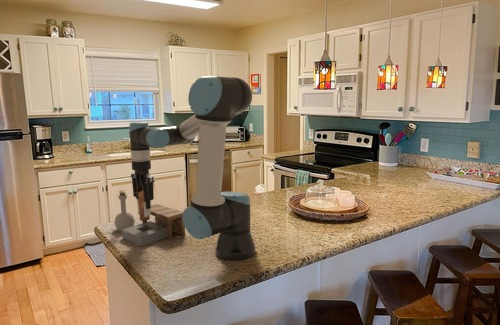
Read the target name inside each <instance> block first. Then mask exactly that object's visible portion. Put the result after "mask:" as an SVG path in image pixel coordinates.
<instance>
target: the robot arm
mask: <svg viewBox="0 0 500 325" xmlns="http://www.w3.org/2000/svg"><path fill="white" fill-rule="evenodd" d="M187 101H188V105H189V106H190V107H189V108H190V110H191V111H192V112H193V113H194V114H193V115H191V116H190V117H189V118H187V119H186V120H184V121H182V122H181V123H180V124H178V125H175V126H164V127H150V126H149V123H148V122H146V121H138V122H137V121H136V122H130V123H129V125H128V126H129V134H128V135H129V144H130V158H131V170H133V171H134V173H131V174H130V178H131V183H132V184H131V185H132V194H133V198H134V197H135V199H136V203H137V215H139V200H138V192H139V191H143V194H144V201H143V203H144V217H147V216H150V217H151V216H152V215H151V205H152V204H151V201H153V200H155V196H154V180H155V178H154V176H151V175H150V171H149V170H151V169H152V164H151V163H152V161H151V160H150V159H151V150H150V149H151V148H153V149H163V148H165V147H169V146H176V145H188V144H192V143H193V142H194V141H195V138H196V137H197V136H198V145H197V146H198V148H197V162H196V163H197V164H196V166H197V167H196V183H195V185H196V186H195V193H194V194H193V195H192V196H191V197H190V204H189V205H190V206H187V207H186V208H185V209H184V210H183V211H182V212H183V223H184V226H185V230H186V231H187V233H188V234H189V235H190V236H191V237H192V238H194V239H196V240H203V239H209V238H210V237H212V236H216V235H218V238H217V242H216V245H215V246H214V247H215V249H214V250H215V254H216V256H217V257H218V258H220V259H223V260H228V261H239V260H240V261H241V260H246V259H249V258H251V257H252V256H254V255H255V254H256V245H255V242H254V239H253V236H252V233H251V232H252V231H251V202H250V201H251V200H250V196H249V195H248V194H247V193H244V192H239V191H222V186H223V174H224V164H225V163H224V162H225V161H224V160H225V148H226V137H227V136H226V135H227V134H226V133H227V126H228V125H230V124H231V122H232V118H235V117H236V116H238V115H240V114H242V113H243V112H245V111H246V110H248V108H249V107H250V105H251V104H252V101H253V91H252V88H251V87H250V85H249V84H248V83H247V82H246V81H245V80H244V79H242V78H239V77H233V76H232V77H230V76H217V75H216V76H215V75H207V76H200V77H198V78H196V80H195V81H194V82H193V83H192V84H191V86H190V88H189V91H188V100H187ZM139 216H140V215H139Z"/></svg>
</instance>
